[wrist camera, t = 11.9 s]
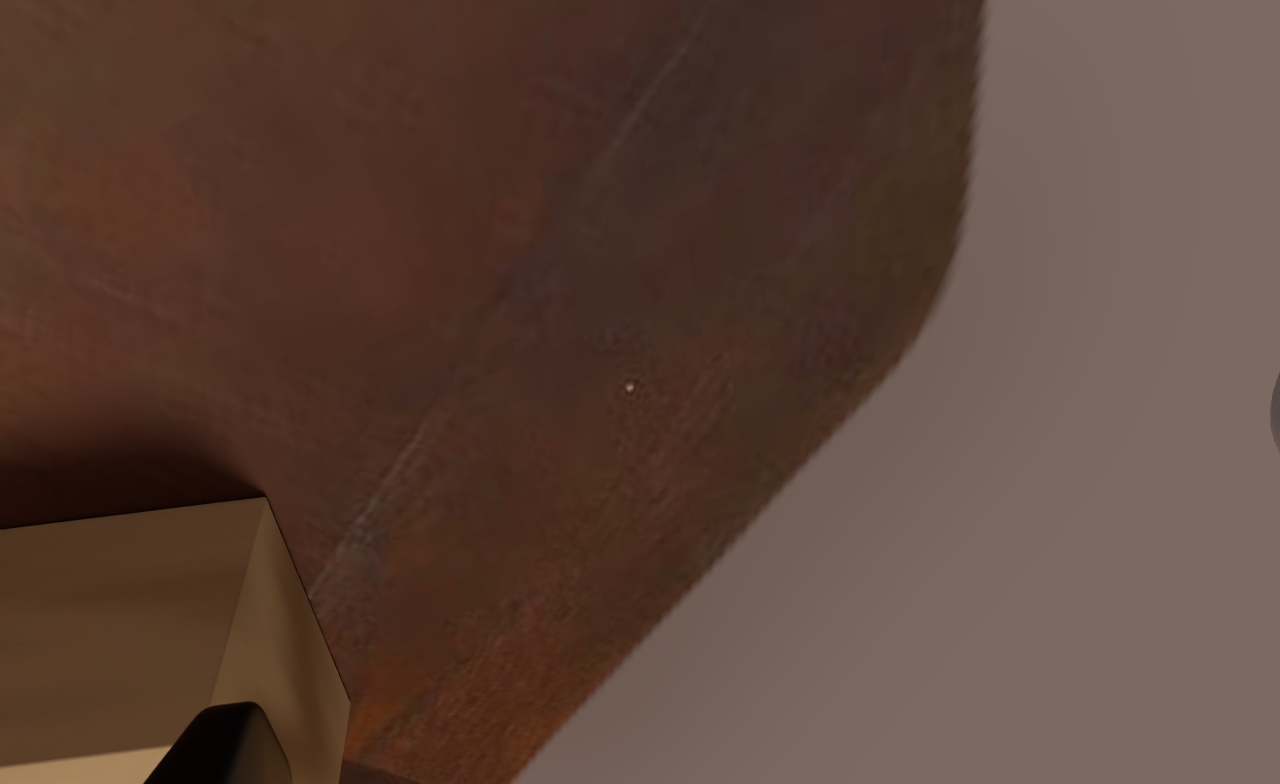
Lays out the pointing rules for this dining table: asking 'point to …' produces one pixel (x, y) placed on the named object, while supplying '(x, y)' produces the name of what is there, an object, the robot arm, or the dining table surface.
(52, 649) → the stand
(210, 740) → the robot arm
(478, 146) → the dining table surface
